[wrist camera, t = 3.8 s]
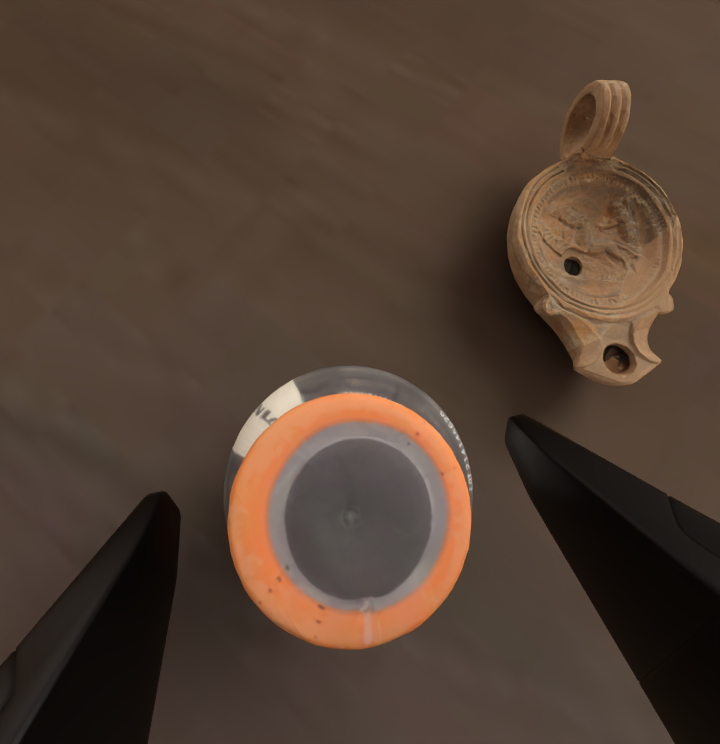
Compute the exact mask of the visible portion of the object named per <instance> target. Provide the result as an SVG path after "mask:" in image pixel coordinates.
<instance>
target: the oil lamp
mask: <svg viewBox="0 0 720 744" xmlns="http://www.w3.org/2000/svg"><path fill="white" fill-rule="evenodd" d="M630 103H631V93H630V89H629V86H628V84H627V83H625V82H623V81H614V80H612V81H610V80H598V81H594V82H592V83H590V84H588V85H587V86H586V87H585V88H584V89H583V90H582V91H581V92H580V93H579V94H578V95H577V96H576V98H575V100H574V102H573V104H572V106H571V108H570V109H569V110H568V112H567V114H566V117H565V121H564V124H563V128H562V134H561V140H560V159H561V162H559V163H556V164H554V165H552V166H550V167H549V168H547V169H545V170H544V171H542V172H541V173H540V174H539V175H537V176H536V177H534V178H533V179H532V180H531V181H530V182H528V184H527V185H526V186H525V188H524V190H523V191H522V193H521V195H520V196H519V198H518V200H517V202H516V204H515V206H514V208H513V211H512V214H511V217H510V221H509V226H508V232H507V249H508V258H509V262H510V266H511V270H512V273H513V275H514V278H515V281H516V282H517V284H518V286H519V287H520V289H521V291H522V292H523V294H524V295H525V296H526V298H527V299H528V300H529V302H530V303H531V304H532V306H533V307H534V310H535V312H536V313H537V314H539V315H540V316H541V318H542V319H543V320H544V321H545V322H546V323H547V324H548V325H549V326H550V327H551V328H552V329H553V330H554V332H555V333H556V334H557V336H558V337H559V339H560V340H561V341H562V343H563V345H564V346H565V348H566V350H567V351H568V353H569V355H570V357H571V359H572V361H573V367H574V370H575V371H576V372H578V373H580V374H582V375H583V376H585V377H587V378H589V379H591V380H593V381H595V382H598V383H600V384H602V385H610V386H618V385H630V384H632V383H634V382H636V381H638V380H639V379H640V378H642V377H643V376H644V375H646V374H647V373H648V372H649V371H651V370H652V369H653V368H655V367H656V366H657V365H658V364H659V363H660V362H661V360H660V359H659V358H658V357H657V356H656V355H655V354H654V353H653V352H652V351H651V350H650V348H649V346H648V343H647V336H648V331H649V328H650V326H651V324H652V322H653V320H654V319H655V317H656V316H657V315H662V314H666V313H669V312H671V311H672V310H673V308H674V305H673V299H672V297H671V296H670V295H669V294H668V292H669V290H670V287H671V286H672V284H673V283H674V281H675V279H676V277H677V274H678V271H679V269H680V265H681V262H682V248H683V238H682V231H681V226H680V222H679V219H678V217H677V215H676V212H675V210H674V208H673V206H672V204H671V202H670V200H669V199H668V197H667V195H666V194H665V192H664V191H663V190H662V188H661V187H660V186H659V185H658V184H657V183H656V182H655V181H654V180H652V179H651V178H650V177H649V176H647V175H646V174H645V173H644V172H642V171H640V170H638V169H637V168H635V167H633V166H631V165H629V164H627V163H625V162H622V161H620V160H618V159H617V158H615V157H613V154H614V152H615V150H616V148H617V146H618V144H619V142H620V140H621V138H622V135H623V133H624V130H625V128H626V126H627V122H628V119H629V115H630Z"/></svg>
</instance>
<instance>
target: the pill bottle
mask: <svg viewBox="0 0 720 744" xmlns="http://www.w3.org/2000/svg"><path fill="white" fill-rule="evenodd" d="M223 502H224V515H225V521H226V526H227V531H228V538H229V545H230V552H231V555H232V559H233V562H234V565H235V569H236V571H237V573H238V575H239V577H240V580H241V582H242V585H243V587H244V589H245V591H246V592H247V594H248V595H249V597H250V598H251V599H252V600H253V602H254V603H255V604H256V605H257V606H258V607H259V609H260V610H261V611H262V612H263V613H264V614H265V615H266V616H267V617H268V618H269V619H270V620H271V621H272V622H273V623H275V624H276V625H277V626H279V627H280V628H281V629H283V630H285V631H286V632H288V633H289V634H291V635H293V636H295V637H297V638H299V639H302V640H304V641H306V642H308V643H310V644H313V645H316V646H323V647H326V648H335V649H343V650H355V649H365V648H371V647H374V646H377V645H381V644H384V643H387V642H389V641H391V640H393V639H396V638H398V637H400V636H402V635H404V634H408V633H409V632H411V631H412V630H414V629H415V628H417V627H418V626H420V625H421V624H422V623H423V622H424V621H425V620H427V619H428V618H429V617H430V616H431V615H432V614H433V613H434V611H435V610H436V609H437V608H438V607H439V606H440V605H441V604H442V603H443V601H444V600H445V599H446V597H447V596H448V595H449V593H450V592H451V590H452V589H453V587H454V585H455V583H456V581H457V579H458V577H459V575H460V572H461V570H462V567H463V564H464V560H465V558H466V555H467V552H468V549H469V541H470V531H471V515H472V502H473V488H472V476H471V471H470V466H469V462H468V458H467V454H466V452H465V449H464V446H463V444H462V441H461V439H460V437H459V435H458V433H457V431H456V429H455V427H454V425H453V424H452V422H451V421H450V419H449V418H448V417H447V415H446V414H445V413H444V411H443V410H442V409H441V408H440V407H439V405H438V404H437V403H436V402H435V401H434V400H433V399H432V398H431V397H430V396H428V395H427V394H426V393H425V392H424V391H422V390H421V389H419V388H418V387H416V386H415V385H413V384H412V383H410V382H408V381H407V380H405V379H403V378H401V377H399V376H397V375H394V374H392V373H389V372H386V371H383V370H380V369H375V368H372V367H365V366H351V365H348V366H335V367H327V368H321V369H317V370H314V371H311V372H309V373H306V374H303V375H301V376H299V377H297V378H295V379H293V380H291V381H290V382H288V383H286V384H285V385H283V386H282V387H280V388H279V389H277V390H276V391H275V392H273V393H272V394H271V395H270V396H269V397H267V398H266V399H265V401H263V402H262V403H261V404H260V405H259V407H258V408H257V409H256V410H255V411H254V412H253V413H252V415H251V416H250V417H249V419H248V420H247V422H246V423H245V425H244V426H243V428H242V429H241V431H240V433H239V435H238V437H237V440H236V442H235V444H234V446H233V448H232V450H231V453H230V456H229V459H228V463H227V468H226V473H225V478H224V490H223Z"/></svg>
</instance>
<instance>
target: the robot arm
mask: <svg viewBox="0 0 720 744" xmlns="http://www.w3.org/2000/svg"><path fill="white" fill-rule="evenodd" d="M505 444H506V447H507V449H508V451H509V453H510V455H511V458H512V460H513V462H514V464H515V466H516V469H517V471H518V473H519V475H520V478H521V480H522V482H523V484H524V486H525V489H526V491H527V493H528V495H529V497H530V499H531V500H532V502H533V504H534V506H535V507H536V509H537V511H538V512H539V514H540V516H541V518H542V519H543V521H544V523H545V524H546V526H547V528H548V529H549V531H550V533H551V534H552V536H553V538H554V540H555V541H556V543H557V545H558V546H559V548H560V550H561V551H562V553H563V555H564V556H565V558H566V560H567V562H568V563H569V565H570V567H571V568H572V570H573V572H574V573H575V575H576V577H577V578H578V580H579V582H580V583H581V585H582V587H583V589H584V590H585V592H586V594H587V595H588V597H589V599H590V600H591V602H592V604H593V605H594V607H595V609H596V611H597V612H598V614H599V616H600V617H601V619H602V621H603V622H604V624H605V626H606V627H607V629H608V631H609V632H610V634H611V636H612V638H613V639H614V641H615V643H616V644H617V646H618V648H619V649H620V651H621V653H622V654H623V656H624V658H625V660H626V661H627V663H628V665H629V666H630V668H631V670H632V671H633V673H634V675H635V676H636V678H637V680H638V681H640V682H639V683H640V685H641V687H642V689H643V690H644V692H645V694H646V695H647V697H648V699H649V701H650V702H651V704H652V706H653V707H654V709H655V711H656V712H657V714H658V716H659V717H660V719H661V721H662V723H663V724H664V726H665V728H666V729H667V731H668V733H669V734H670V736H671V738H672V739H673V741H674V743H675V744H720V523H718V522H716V521H715V520H713V519H711V518H709V517H707V516H705V515H704V514H702V513H700V512H698V511H696V510H694V509H693V508H691V507H689V506H687V505H685V504H684V503H682V502H680V501H678V500H676V499H675V498H673V497H671V496H667V494H666V493H664V492H662V491H660V490H659V489H657V488H655V487H653V486H651V485H650V484H648V483H646V482H644V481H643V480H641V479H639V478H637V477H636V476H634V475H632V474H630V473H628V472H627V471H625V470H623V469H621V468H620V467H618V466H616V465H614V464H613V463H611V462H609V461H607V460H605V459H604V458H602V457H600V456H598V455H597V454H595V453H593V452H591V451H589V450H588V449H586V448H584V447H582V446H581V445H579V444H577V443H575V442H574V441H572V440H570V439H568V438H566V437H565V436H563V435H561V434H559V433H558V432H556V431H554V430H552V429H551V428H549V427H547V426H545V425H543V424H542V423H540V422H538V421H536V420H535V419H533V418H531V417H529V416H527V415H525V414H521V415H516V416H511V417H510V418H509V419H508V422H507V428H506V434H505ZM180 521H181V515H180V511H179V509H178V507H177V506H176V504H175V503H174V501H173V500H172V499H171V497H170V496H169V495H168V493H167V492H164V491H161V492H156V493H152V494H149V495H147V496H146V497H145V498H144V499H143V500H142V501H141V502H140V503H139V504H138V506H137V507H136V508H135V509H134V510H133V512H132V513H131V514H130V515H129V516H128V517H127V519H126V520H125V521H124V522H123V523H122V524H121V526H120V527H119V528H118V529H117V530H116V531H115V533H114V534H113V535H112V536H111V537H110V538H109V540H108V541H107V542H106V543H105V544H104V546H103V547H102V548H101V549H100V550H99V551H98V553H97V554H96V555H95V556H94V557H93V558H92V560H91V561H90V562H89V563H88V564H87V565H86V567H85V568H84V569H83V570H82V571H81V572H80V574H79V575H78V576H77V577H76V578H75V580H74V581H73V582H72V583H71V584H70V585H69V587H68V588H67V589H66V590H65V591H64V592H63V594H62V595H61V596H60V597H59V598H58V599H57V601H56V602H55V603H54V604H53V605H52V606H51V608H50V609H49V610H48V611H47V612H46V614H45V615H44V616H43V617H42V618H41V619H40V621H39V622H38V623H37V624H36V625H35V626H34V628H33V629H32V630H31V631H30V632H29V633H28V635H27V636H26V637H25V638H24V639H23V640H22V642H21V643H20V644H19V645H18V646H17V648H16V651H14V652H12V653H11V654H10V656H9V657H8V658H7V659H6V660H5V661H4V663H3V664H2V665H1V666H0V744H148V738H149V733H150V727H151V721H152V716H153V710H154V704H155V699H156V693H157V687H158V682H159V676H160V670H161V665H162V659H163V653H164V648H165V642H166V636H167V631H168V625H169V619H170V614H171V608H172V602H173V597H174V591H175V585H176V578H177V567H178V552H179V536H180Z"/></svg>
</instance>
